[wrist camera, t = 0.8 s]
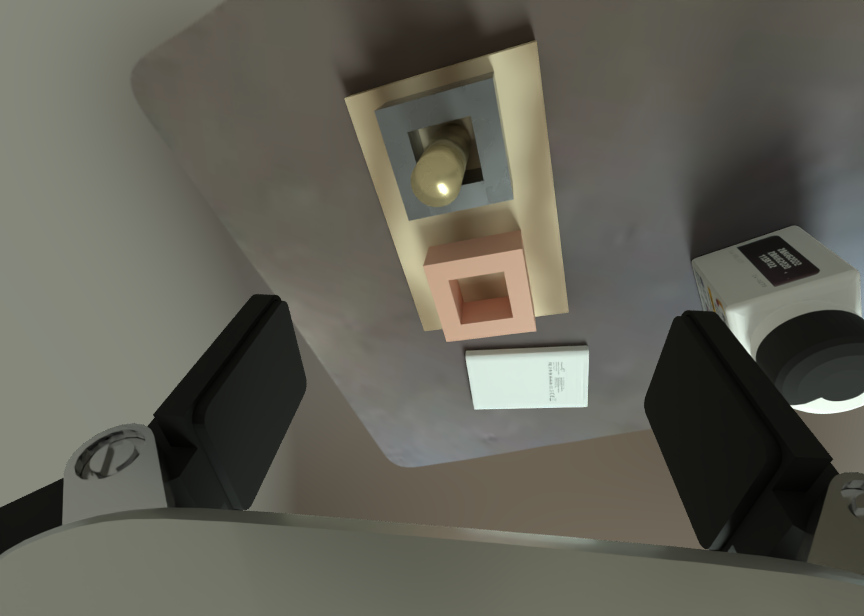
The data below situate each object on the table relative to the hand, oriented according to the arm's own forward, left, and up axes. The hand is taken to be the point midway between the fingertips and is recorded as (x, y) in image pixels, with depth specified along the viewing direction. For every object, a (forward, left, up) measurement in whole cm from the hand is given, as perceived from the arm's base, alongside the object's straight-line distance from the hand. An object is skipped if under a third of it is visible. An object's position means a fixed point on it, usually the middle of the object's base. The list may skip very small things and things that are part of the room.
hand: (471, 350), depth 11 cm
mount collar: (+3, 0, -26) cm, 26 cm away
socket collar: (+3, +12, -26) cm, 29 cm away
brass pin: (+3, 0, -26) cm, 26 cm away
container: (-19, +17, -27) cm, 37 cm away
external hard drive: (+1, +26, -28) cm, 38 cm away
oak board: (+3, +6, -27) cm, 28 cm away
